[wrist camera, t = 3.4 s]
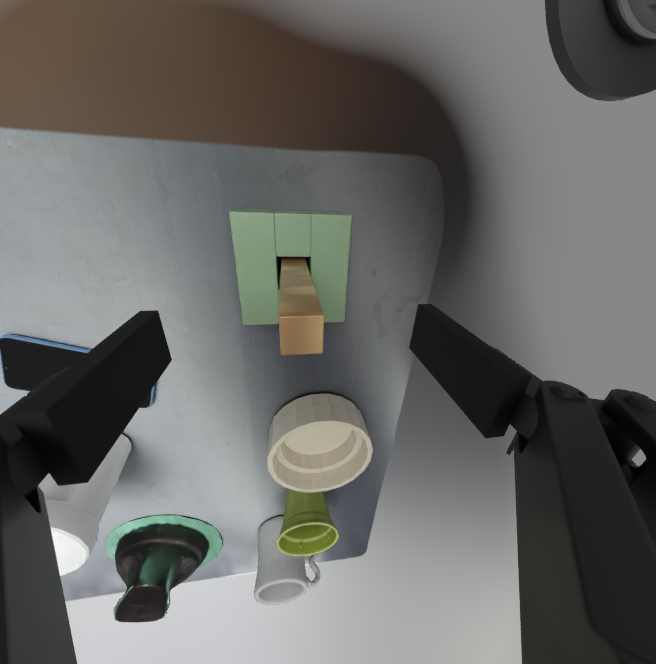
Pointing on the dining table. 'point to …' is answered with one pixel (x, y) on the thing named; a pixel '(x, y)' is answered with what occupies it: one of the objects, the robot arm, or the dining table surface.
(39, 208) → the dining table surface
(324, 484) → the bowl
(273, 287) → the holder
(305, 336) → the stirring stick
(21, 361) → the smartphone
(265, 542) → the mug
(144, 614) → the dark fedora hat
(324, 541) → the plant pot
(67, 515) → the cup
